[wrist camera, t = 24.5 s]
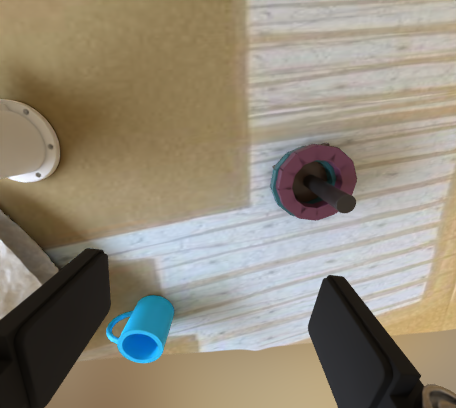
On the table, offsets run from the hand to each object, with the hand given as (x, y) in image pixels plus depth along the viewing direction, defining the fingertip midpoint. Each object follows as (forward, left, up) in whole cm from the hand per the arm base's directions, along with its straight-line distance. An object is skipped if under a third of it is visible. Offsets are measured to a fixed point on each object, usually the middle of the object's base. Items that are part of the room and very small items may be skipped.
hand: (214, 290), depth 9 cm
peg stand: (+7, +12, -28) cm, 32 cm away
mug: (+20, -28, -28) cm, 45 cm away
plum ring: (+7, +12, -25) cm, 28 cm away
